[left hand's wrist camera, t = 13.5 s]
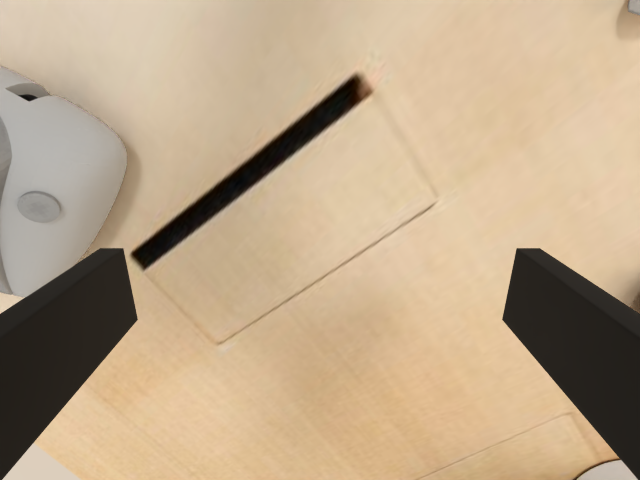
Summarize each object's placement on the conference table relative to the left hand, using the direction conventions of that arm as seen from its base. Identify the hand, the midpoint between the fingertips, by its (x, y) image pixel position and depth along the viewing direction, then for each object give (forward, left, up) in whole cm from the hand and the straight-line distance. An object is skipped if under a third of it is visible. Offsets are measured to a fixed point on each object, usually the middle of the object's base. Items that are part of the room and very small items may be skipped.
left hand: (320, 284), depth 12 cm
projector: (+3, -29, -28) cm, 40 cm away
